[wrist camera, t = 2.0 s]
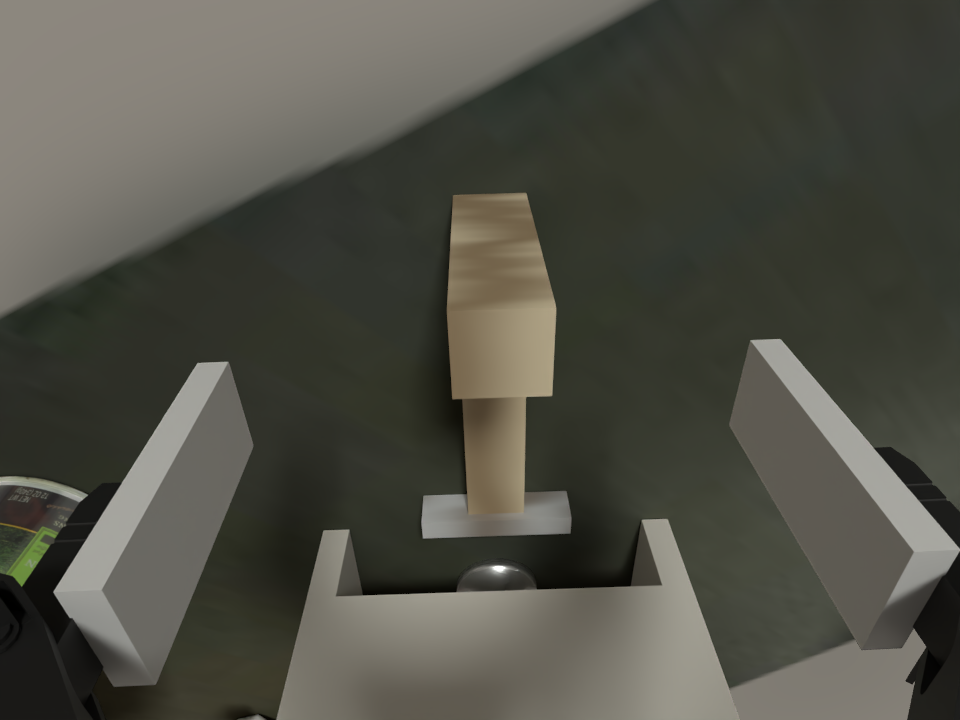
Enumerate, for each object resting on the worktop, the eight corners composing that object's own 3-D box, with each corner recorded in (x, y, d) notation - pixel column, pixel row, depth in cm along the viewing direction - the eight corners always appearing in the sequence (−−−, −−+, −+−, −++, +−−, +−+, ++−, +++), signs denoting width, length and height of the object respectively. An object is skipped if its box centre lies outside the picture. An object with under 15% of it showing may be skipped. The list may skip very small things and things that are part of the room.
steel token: (532, 552, 38) (533, 565, 37) (538, 604, 40) (539, 617, 39) (451, 558, 38) (450, 571, 37) (462, 609, 41) (462, 622, 40)
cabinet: (667, 518, 36) (770, 804, 24) (645, 630, 42) (719, 906, 30) (323, 530, 36) (250, 822, 24) (349, 640, 42) (302, 920, 30)
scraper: (586, 190, 25) (647, 304, 17) (565, 506, 35) (596, 676, 27) (391, 197, 25) (355, 314, 17) (425, 510, 35) (412, 682, 27)
